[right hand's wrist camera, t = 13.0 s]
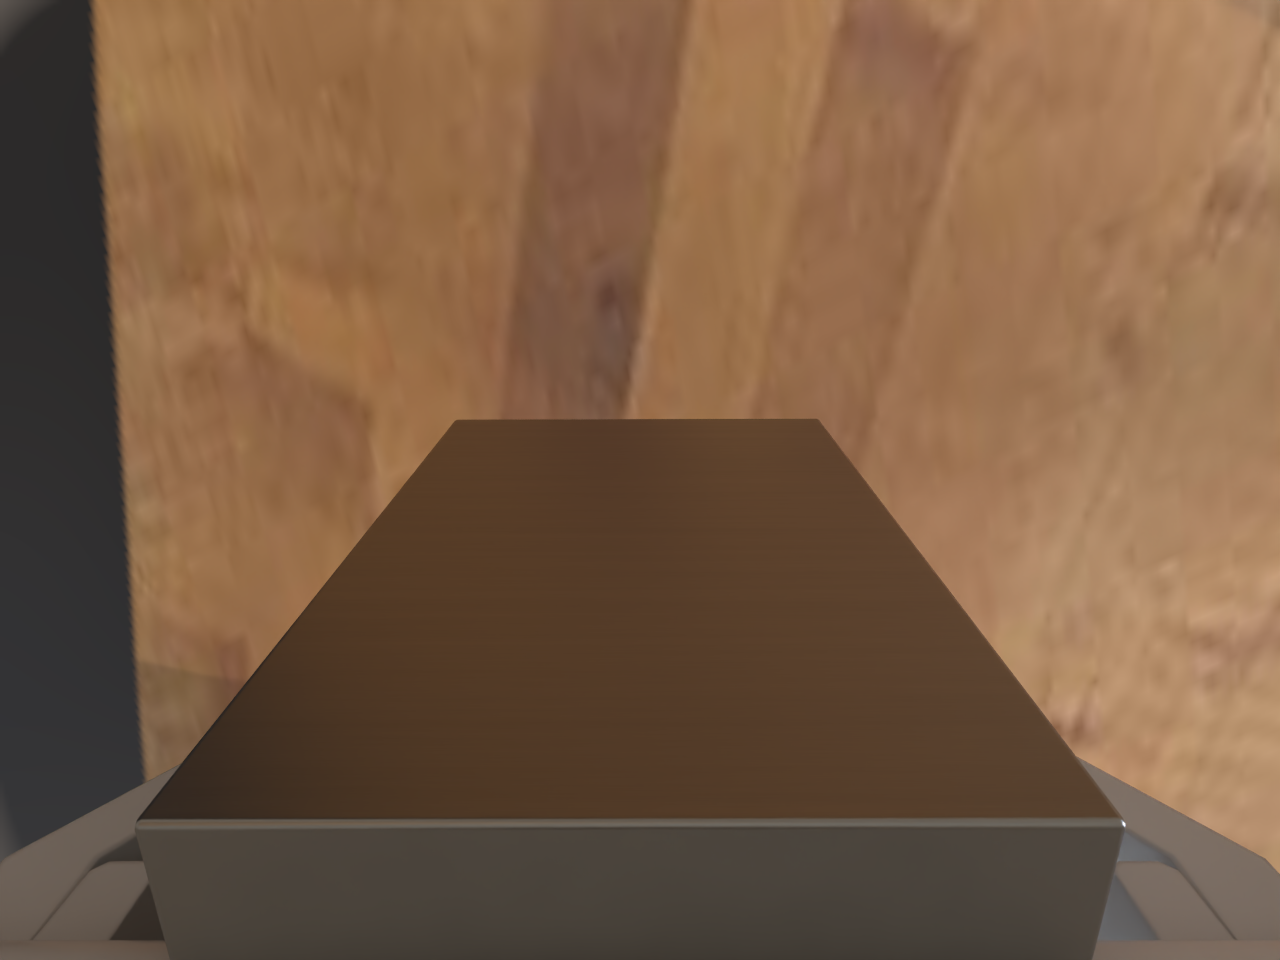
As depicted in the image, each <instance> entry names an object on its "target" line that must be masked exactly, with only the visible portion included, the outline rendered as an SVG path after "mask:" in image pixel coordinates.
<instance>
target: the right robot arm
mask: <svg viewBox="0 0 1280 960" xmlns="http://www.w3.org/2000/svg"><path fill="white" fill-rule="evenodd" d="M1077 758H1078V757H1077ZM1078 760H1079V761H1080V762H1081V764H1082V765H1083V766H1084V768H1085V769H1086V770H1087V772H1088V773H1089V774H1090V775H1091V777H1092V778H1093V779H1094V781H1095V782H1096V783H1097V785H1098V786H1099V787H1100V789H1101V790H1102V791H1103V792H1104V794H1105V795H1106V796H1107V798H1108V799H1109V800H1110V802H1111V803H1112V804H1113V806H1114V807H1115V808H1116V809H1117V811H1118V812H1119V813H1120V815H1121V816H1122V817H1123V820H1124V823H1125V832H1124V836H1123V840H1122V844H1121V848H1120V852H1119V856H1118V860H1117V864H1116V868H1115V872H1114V876H1113V880H1112V884H1111V888H1110V891H1109V895H1108V899H1107V903H1106V907H1105V911H1104V915H1103V919H1102V923H1101V927H1100V931H1099V935H1098V939H1097V943H1096V947H1095V951H1094V955H1093V959H1092V960H1280V874H1279V873H1278V872H1277V871H1276V870H1275V869H1274V868H1273V866H1272V865H1271V864H1270V863H1269V862H1268V861H1267V860H1266V859H1265V858H1263V857H1261V856H1259V855H1257V854H1256V853H1254V852H1252V851H1250V850H1248V849H1246V848H1245V847H1243V846H1241V845H1239V844H1237V843H1235V842H1233V841H1232V840H1230V839H1228V838H1226V837H1224V836H1222V835H1221V834H1219V833H1217V832H1215V831H1213V830H1211V829H1209V828H1208V827H1206V826H1204V825H1202V824H1200V823H1198V822H1196V821H1195V820H1193V819H1191V818H1189V817H1187V816H1185V815H1184V814H1182V813H1180V812H1178V811H1176V810H1174V809H1172V808H1171V807H1169V806H1167V805H1165V804H1163V803H1161V802H1160V801H1158V800H1156V799H1154V798H1152V797H1150V796H1148V795H1147V794H1145V793H1143V792H1141V791H1139V790H1137V789H1136V788H1134V787H1132V786H1130V785H1128V784H1126V783H1124V782H1123V781H1121V780H1119V779H1117V778H1115V777H1113V776H1111V775H1110V774H1108V773H1106V772H1104V771H1102V770H1100V769H1099V768H1097V767H1095V766H1093V765H1091V764H1089V763H1087V762H1086V761H1084V760H1082V759H1080V758H1078ZM181 764H182V763H181ZM181 764H179V765H178V766H176V767H174V768H172V769H170V770H168V771H166V772H165V773H163V774H161V775H159V776H157V777H155V778H153V779H151V780H150V781H148V782H146V783H144V784H142V785H140V786H138V787H137V788H135V789H133V790H131V791H129V792H127V793H125V794H123V795H122V796H120V797H118V798H116V799H114V800H112V801H110V802H108V803H107V804H105V805H103V806H101V807H99V808H97V809H95V810H93V811H92V812H90V813H88V814H86V815H84V816H82V817H80V818H78V819H77V820H75V821H73V822H71V823H69V824H67V825H65V826H63V827H62V828H60V829H58V830H56V831H54V832H52V833H50V834H48V835H47V836H45V837H43V838H41V839H39V840H37V841H35V842H33V843H32V844H30V845H28V846H26V847H24V848H22V849H20V850H19V851H17V852H15V853H13V854H11V855H9V856H7V857H6V858H4V859H3V861H2V862H1V863H0V960H170V958H169V954H168V951H167V947H166V943H165V940H164V936H163V932H162V929H161V925H160V921H159V918H158V914H157V910H156V907H155V903H154V899H153V896H152V892H151V888H150V885H149V881H148V877H147V873H146V870H145V866H144V862H143V859H142V855H141V851H140V848H139V844H138V840H137V837H136V833H135V824H136V821H137V819H138V818H139V816H140V815H141V814H142V813H143V811H144V810H145V809H146V808H147V806H148V805H149V804H150V803H151V801H152V800H153V799H154V798H155V796H156V795H157V794H158V793H159V791H160V790H161V789H162V788H163V786H164V785H165V784H166V783H167V781H168V780H169V779H170V778H171V776H172V775H173V774H174V773H175V771H176V770H177V769H178V768H179V766H180V765H181Z"/></svg>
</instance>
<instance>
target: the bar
mask: <svg viewBox="0 0 1280 960" xmlns="http://www.w3.org/2000/svg"><path fill="white" fill-rule="evenodd" d="M1124 832H1125V823H1124V820H1123V817H1122V816H1121V815H1120V813H1119V812H1118V811H1117V809H1116V808H1115V807H1114V806H1113V804H1112V803H1111V802H1110V800H1109V799H1108V798H1107V796H1106V795H1105V794H1104V792H1103V791H1102V790H1101V789H1100V787H1099V786H1098V785H1097V783H1096V782H1095V781H1094V779H1093V778H1092V777H1091V775H1090V774H1089V773H1088V772H1087V770H1086V769H1085V768H1084V766H1083V765H1082V764H1081V762H1080V761H1079V760H1078V758H1077V757H1076V756H1075V755H1074V753H1073V752H1072V751H1071V749H1070V748H1069V747H1068V745H1067V744H1066V743H1065V741H1064V740H1063V739H1062V738H1061V736H1060V735H1059V734H1058V732H1057V731H1056V730H1055V728H1054V727H1053V726H1052V724H1051V723H1050V722H1049V721H1048V719H1047V718H1046V717H1045V715H1044V714H1043V713H1042V711H1041V710H1040V709H1039V707H1038V706H1037V705H1036V704H1035V702H1034V701H1033V700H1032V698H1031V697H1030V696H1029V694H1028V693H1027V692H1026V690H1025V689H1024V688H1023V687H1022V685H1021V684H1020V683H1019V681H1018V680H1017V679H1016V677H1015V676H1014V675H1013V673H1012V672H1011V671H1010V670H1009V668H1008V667H1007V666H1006V664H1005V663H1004V662H1003V660H1002V659H1001V658H1000V656H999V655H998V654H997V653H996V651H995V650H994V649H993V647H992V646H991V645H990V643H989V642H988V641H987V639H986V638H985V637H984V636H983V634H982V633H981V632H980V630H979V629H978V628H977V626H976V625H975V624H974V622H973V621H972V620H971V619H970V617H969V616H968V615H967V613H966V612H965V611H964V609H963V608H962V607H961V605H960V604H959V603H958V601H957V600H956V599H955V598H954V596H953V595H952V594H951V592H950V591H949V590H948V588H947V587H946V586H945V584H944V583H943V582H942V581H941V579H940V578H939V577H938V575H937V574H936V573H935V571H934V570H933V569H932V567H931V566H930V565H929V564H928V562H927V561H926V560H925V558H924V557H923V556H922V554H921V553H920V552H919V550H918V549H917V548H916V547H915V545H914V544H913V543H912V541H911V540H910V539H909V537H908V536H907V535H906V533H905V532H904V531H903V530H902V528H901V527H900V526H899V524H898V523H897V522H896V520H895V519H894V518H893V516H892V515H891V514H890V513H889V511H888V510H887V509H886V507H885V506H884V505H883V503H882V502H881V501H880V499H879V498H878V497H877V496H876V494H875V493H874V492H873V490H872V489H871V488H870V486H869V485H868V484H867V482H866V481H865V480H864V479H863V477H862V476H861V475H860V473H859V472H858V471H857V469H856V468H855V467H854V465H853V464H852V463H851V462H850V460H849V459H848V458H847V456H846V455H845V454H844V452H843V451H842V450H841V448H840V447H839V446H838V445H837V443H836V442H835V441H834V439H833V438H832V437H831V435H830V434H829V433H828V431H827V430H826V429H825V428H824V426H823V425H822V424H821V422H820V421H819V420H818V419H593V420H456V421H455V422H454V423H453V424H452V425H451V427H450V428H449V429H448V430H447V432H446V433H445V434H444V435H443V437H442V438H441V439H440V440H439V442H438V443H437V444H436V446H435V447H434V448H433V449H432V451H431V452H430V453H429V454H428V456H427V457H426V458H425V459H424V461H423V462H422V463H421V464H420V466H419V467H418V468H417V469H416V471H415V472H414V473H413V474H412V476H411V477H410V478H409V479H408V481H407V482H406V483H405V484H404V486H403V487H402V488H401V489H400V491H399V492H398V493H397V494H396V496H395V497H394V498H393V499H392V501H391V502H390V503H389V504H388V506H387V507H386V508H385V509H384V511H383V512H382V513H381V514H380V516H379V517H378V518H377V519H376V521H375V522H374V523H373V524H372V526H371V527H370V528H369V529H368V531H367V532H366V533H365V534H364V536H363V537H362V538H361V539H360V541H359V542H358V543H357V545H356V546H355V547H354V548H353V550H352V551H351V552H350V553H349V555H348V556H347V557H346V558H345V560H344V561H343V562H342V563H341V565H340V566H339V567H338V568H337V570H336V571H335V572H334V573H333V575H332V576H331V577H330V578H329V580H328V581H327V582H326V583H325V585H324V586H323V587H322V588H321V590H320V591H319V592H318V593H317V595H316V596H315V597H314V598H313V600H312V601H311V602H310V603H309V605H308V606H307V607H306V608H305V610H304V611H303V612H302V613H301V615H300V616H299V617H298V618H297V620H296V621H295V622H294V623H293V625H292V626H291V627H290V628H289V630H288V631H287V632H286V633H285V635H284V636H283V637H282V638H281V640H280V641H279V642H278V643H277V645H276V646H275V647H274V649H273V650H272V651H271V652H270V654H269V655H268V656H267V657H266V659H265V660H264V661H263V662H262V664H261V665H260V666H259V667H258V669H257V670H256V671H255V672H254V674H253V675H252V676H251V677H250V679H249V680H248V681H247V682H246V684H245V685H244V686H243V687H242V689H241V690H240V691H239V692H238V694H237V695H236V696H235V697H234V699H233V700H232V701H231V702H230V704H229V705H228V706H227V707H226V709H225V710H224V711H223V712H222V714H221V715H220V716H219V717H218V719H217V720H216V721H215V722H214V724H213V725H212V726H211V727H210V729H209V730H208V731H207V732H206V734H205V735H204V736H203V737H202V739H201V740H200V741H199V742H198V744H197V745H196V746H195V747H194V749H193V750H192V751H191V753H190V754H189V755H188V756H187V758H186V759H185V760H184V761H183V763H182V764H181V765H180V766H179V768H178V769H177V770H176V771H175V773H174V774H173V775H172V776H171V778H170V779H169V780H168V781H167V783H166V784H165V785H164V786H163V788H162V789H161V790H160V791H159V793H158V794H157V795H156V796H155V798H154V799H153V800H152V801H151V803H150V804H149V805H148V806H147V808H146V809H145V810H144V811H143V813H142V814H141V815H140V816H139V818H138V819H137V821H136V824H135V833H136V837H137V840H138V844H139V848H140V851H141V855H142V859H143V862H144V866H145V870H146V873H147V877H148V881H149V885H150V888H151V892H152V896H153V899H154V903H155V907H156V910H157V914H158V918H159V921H160V925H161V929H162V932H163V936H164V940H165V943H166V947H167V951H168V954H169V958H170V960H1092V959H1093V955H1094V951H1095V947H1096V943H1097V939H1098V935H1099V931H1100V927H1101V923H1102V919H1103V915H1104V911H1105V907H1106V903H1107V899H1108V895H1109V891H1110V888H1111V884H1112V880H1113V876H1114V872H1115V868H1116V864H1117V860H1118V856H1119V852H1120V848H1121V844H1122V840H1123V836H1124Z"/></svg>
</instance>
